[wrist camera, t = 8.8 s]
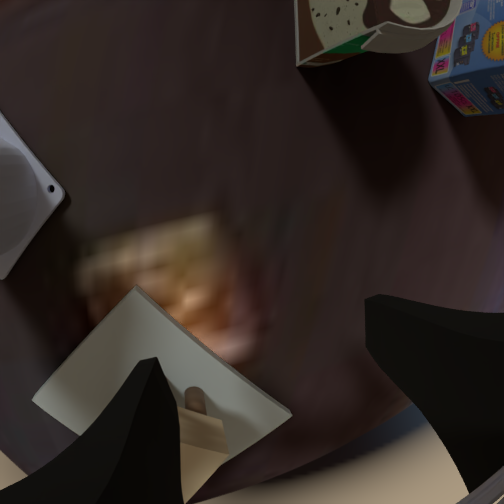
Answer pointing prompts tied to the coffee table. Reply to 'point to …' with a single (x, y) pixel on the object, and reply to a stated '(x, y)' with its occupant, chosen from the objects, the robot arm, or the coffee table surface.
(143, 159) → the coffee table surface
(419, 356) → the robot arm
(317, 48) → the food container
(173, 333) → the blue-grey board
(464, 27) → the ink cartridge box
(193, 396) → the beige cardboard carton
